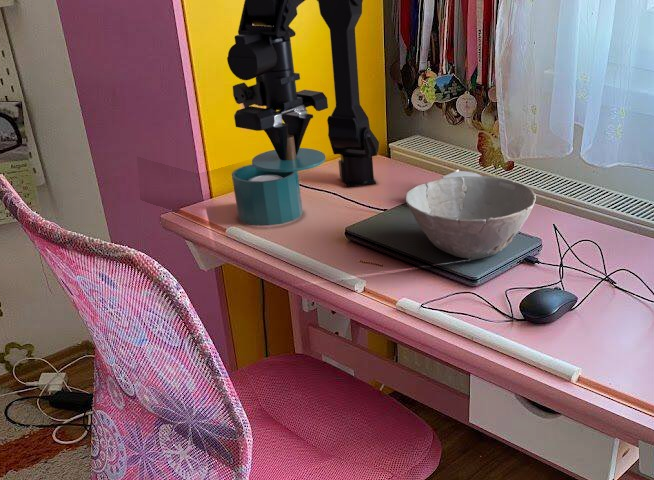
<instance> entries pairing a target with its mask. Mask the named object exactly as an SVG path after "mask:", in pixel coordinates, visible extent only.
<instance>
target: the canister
mask: <svg viewBox="0 0 654 480" xmlns="http://www.w3.org/2000/svg"><path fill="white" fill-rule="evenodd" d="M261 175H277V176H281V177H283V178H281V179H277V180H270V181H248V180H249V179H251V178H253V177H257V176H261ZM231 180H232V186H233V187H232V188H233V193H234V198H235V199H234V200H235V205H236V210H237V211H236V212H237V217H238V219H239V221H241V222H242V223H244V224H247V225H253V226H269V227H270V226H277V225H284V224H285V223H291V222H293V221H295V220H297V219H298V218H301V216H302V214H303V213H304V211H303V204H302V196H301V186H300V179H299V171H296V172H270V171H263V170H260V169H257V168H255V167H254V166H253V165H252V163H251V164H247V165H244V166H241V167H238V168H236V169H234V171H232V173H231Z"/></svg>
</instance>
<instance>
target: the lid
mask: <svg viewBox="0 0 654 480" xmlns="http://www.w3.org/2000/svg"><path fill="white" fill-rule="evenodd" d="M325 162H326V154H325V153H324V152H323V151H320V150H318V149H314V148H307V147H300V148H299V151H298V154H297V155H296V150H295V142H294V136H293V135H291V134H288V136H287V153H286V159H285V160H280V158H279V156H278V154H277V152H276V150H275V149H272V150H267V151H264V152H260V153H259V154H257V155H255V156H254V157H253V158H252V159H251V164H252V165H253V166H254V167H255V168H257V169H260V170H263V171H270V172H296V171H298V172H301V171H306V170H310V169H314V168H317V167H318V166H321V165H322V164H324V163H325Z"/></svg>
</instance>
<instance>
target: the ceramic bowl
mask: <svg viewBox="0 0 654 480" xmlns="http://www.w3.org/2000/svg"><path fill="white" fill-rule="evenodd" d="M536 201H537V195H536V193H535V192H534V190H533V189H531V188H530V187H528V186H526V185H524V184H522V183H519V182H517V181H513V180H511V179H505V178H502V177H494V176H493V177H492V176H485V175H481V176H480V177H478V176H463V177H450V178H444V179H442V178H440V179H437V180H431V181H428V182H426V183H421V184H419V185H416V186H414V187H412V188H410V189H409V190H408V191H407V192H406V196H405V203H406V205H407V207H408V208H409V210H410V212H411V213H412V215H413V217H414V220H415V222H416V223H417V225H418V226H419V228H420V229H421V231H422V232H423V233H424V234H425V235H426V237H427V238H428V240H429V242H431V243H432V244H433V245H434V246H435V247H436V248H437V249H439V250H440V251H442V252H444V253H446V254H449V255H452V256H454V257H457V258H460V259H461V258H462V259H468V260H481V259H484V258H488V257H492V256H493V255H495V254H497V253H499V252H502V250H503V249H505V248H507V246H508V245H509V244H511V243H512V242H513V238H514V237H515V236H516V235H517V234H518V233H519V231H520V230H521V228H523V225H524V224H525V222H526V221H527V219H528V217H529V216H530V214H531V212H532V210H533V209H534V206H535V203H536Z"/></svg>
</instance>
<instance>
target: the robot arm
mask: <svg viewBox="0 0 654 480" xmlns="http://www.w3.org/2000/svg"><path fill="white" fill-rule="evenodd" d="M305 1H306V0H244V2H243V7H242V12H241V17H240V21H239V25H238V30H237V35H234V42H235V43H234V44H233V45H231V47H230V48H229V50H228V53H227V57H226V60H227V65H228V68H229V69H230V71H231V73H232V74H233V75H234V76H235V77H236V78H238V79H239V80H241V81H250V80H253V79H255V83H254V84H253V85H249V86H248V84H247V83H246V82H240V83H237V84H235V85H234V84H233V85H232V95H233V98H234V101H235V103H236V104H237V105H241V104H242V105H243V108H240V109H237V110H236V111H235V113H234V115H233V119H234V124H235V128H239V129H244V130H250V131H256V132H259V131H260V132H261V131H263V132H265V134H266V136H267V137H268V138H269V140H270V143H271V145H272V146H273V148H274V150H276V152H277V154H278V156H279V158H280V160H285V159H286V153H287V136H288V134H291V135H293V136H294V142H295V150H296V155H297V154H298V151H299V148H301V145H302V142H303V139H304V136H305V134H306V131H307V128H308V126H309V125H310V122H311V120H312V119H313V118H314V114H313V113H308V110H307V108H308V107H313V109H314V110H315V111H316V112H321V111H324V110H326V109H329V103H328V97H327V96H326V94H325V93H324V91H315V90H311V89H302V90H298V91H297V85H296V84H297V83H296V81H300V80H301V75H300V73H299V72H295V67H294V60H293V51H292V50H293V49H292V41H291V38H293V37H295V36H296V35H297V33H296V31H295V30H294V29H293V28H291V26H290V24H292V22H293V21H294V20H295V18H296V17H297V16H298V7H299V6H300V5H301V4H303V3H304V2H305ZM316 1H317V3H318V9H319V14H320V16H321V18H322V19H323V21H324V22H325V24H326V26H327V28H328V29H329V36H330V37H329V38H330V51H331V60H332V61H331V63H332V72H333V73H332V75H333V88H334V100H335V106H334V109H333V111H332V113H331V115H329V116H328V117H327V120H326V122H327V127H328V128H327V130H328V131H327V136H328V139H329V143H330V146H331V150H332V154H333V155H339V156H340V159H339V160H338V162H337V163H338V171H339V180H340V181H341V183H343V185H344V186H345V187H346V188H355V187H364V186H372V185H376V184H377V180H376V179H375V176H374V163H373V157H377V156H378V153H379V149H380V140H378V138H377V136H376V135H375V134H374V132H373V130H371V127H370V119H369V117H368V115H367V113H366V112H365V110H364V109H363V107H362V105H361V102H360V101H361V100H360V86H359V71H358V70H359V69H358V56H357V40H356V27H357V25H358V22H359V20H360V18H361V17H362V15H363V1H364V0H316ZM254 105H255V106H254ZM264 107H265V108H264Z"/></svg>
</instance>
